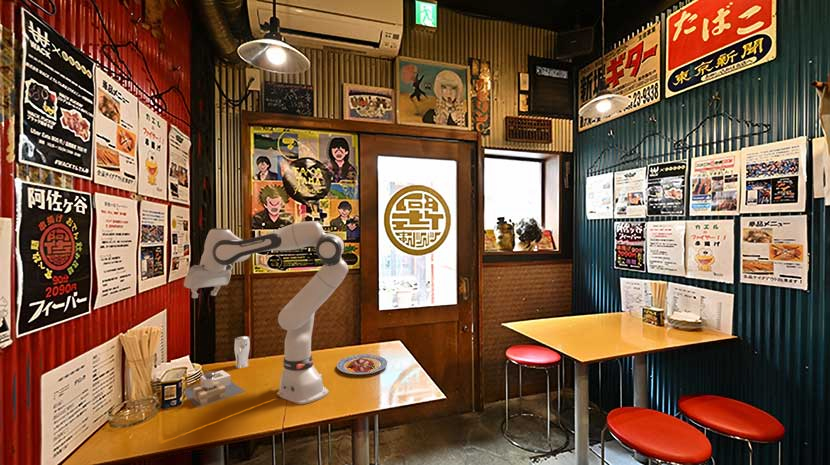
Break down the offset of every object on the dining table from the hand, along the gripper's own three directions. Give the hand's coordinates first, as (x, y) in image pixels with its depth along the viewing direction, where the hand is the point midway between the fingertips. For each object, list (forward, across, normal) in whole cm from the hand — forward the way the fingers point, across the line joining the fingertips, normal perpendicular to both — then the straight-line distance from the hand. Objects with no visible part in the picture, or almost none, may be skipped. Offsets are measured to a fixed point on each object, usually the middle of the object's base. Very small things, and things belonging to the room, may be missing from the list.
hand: (204, 296), depth 143 cm
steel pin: (+38, 0, -15) cm, 41 cm away
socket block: (+39, +10, -8) cm, 41 cm away
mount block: (+38, 0, -15) cm, 41 cm away
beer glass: (+40, +31, -4) cm, 50 cm away
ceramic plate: (+27, +48, -61) cm, 82 cm away
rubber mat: (+40, +5, -11) cm, 42 cm away
